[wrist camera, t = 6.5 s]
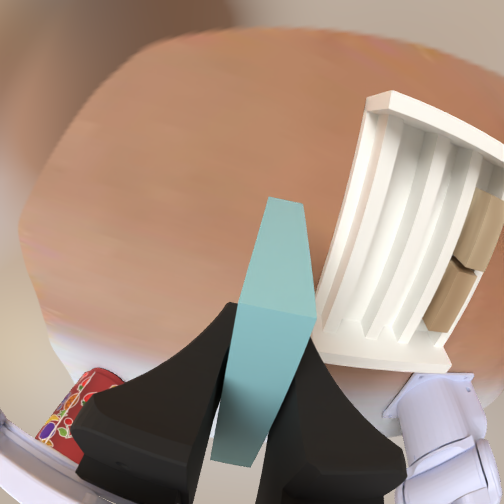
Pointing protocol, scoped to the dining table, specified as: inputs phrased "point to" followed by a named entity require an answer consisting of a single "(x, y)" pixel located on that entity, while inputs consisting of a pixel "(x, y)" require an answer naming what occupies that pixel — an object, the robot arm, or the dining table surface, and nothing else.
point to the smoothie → (74, 413)
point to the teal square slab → (266, 333)
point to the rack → (400, 234)
